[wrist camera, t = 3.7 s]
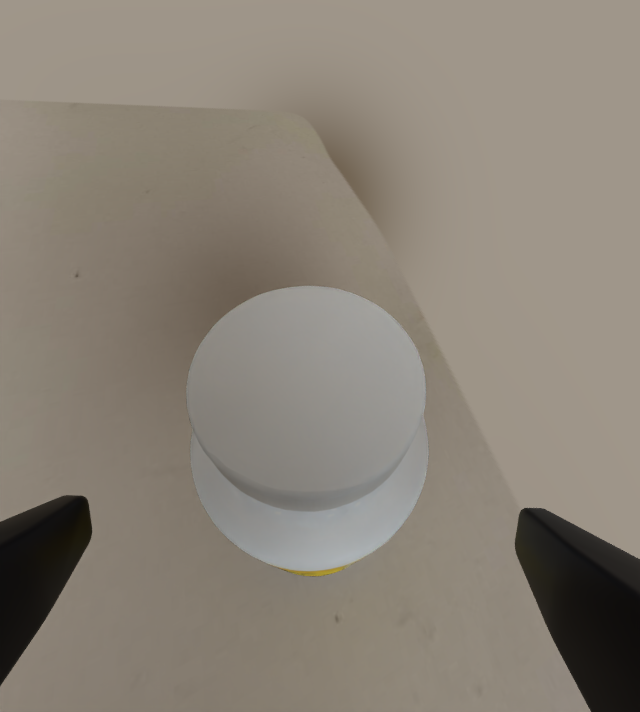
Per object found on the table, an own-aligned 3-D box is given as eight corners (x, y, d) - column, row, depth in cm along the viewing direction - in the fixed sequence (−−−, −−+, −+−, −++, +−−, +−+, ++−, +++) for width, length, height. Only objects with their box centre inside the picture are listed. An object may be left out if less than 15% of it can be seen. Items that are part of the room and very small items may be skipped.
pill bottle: (227, 459, 18) (111, 303, 8) (346, 410, 19) (373, 225, 9) (271, 607, 15) (169, 649, 5) (411, 536, 16) (553, 457, 6)
